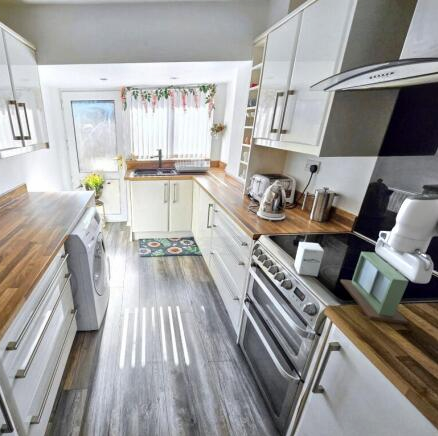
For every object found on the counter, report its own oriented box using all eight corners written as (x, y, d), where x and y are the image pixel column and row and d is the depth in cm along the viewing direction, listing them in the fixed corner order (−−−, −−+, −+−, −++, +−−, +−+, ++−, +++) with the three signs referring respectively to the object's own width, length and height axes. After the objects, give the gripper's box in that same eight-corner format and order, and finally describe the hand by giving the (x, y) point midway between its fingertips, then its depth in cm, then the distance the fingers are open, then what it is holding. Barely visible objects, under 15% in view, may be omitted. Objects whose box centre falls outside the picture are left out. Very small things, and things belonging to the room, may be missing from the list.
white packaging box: (298, 274, 103) (303, 248, 99) (293, 265, 110) (299, 241, 105) (317, 277, 101) (324, 250, 97) (312, 267, 108) (318, 242, 103)
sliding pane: (386, 293, 86) (396, 267, 82) (401, 308, 79) (413, 280, 75) (370, 291, 88) (379, 265, 84) (383, 306, 81) (394, 278, 77)
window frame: (369, 284, 95) (381, 251, 90) (407, 324, 76) (425, 285, 71) (340, 281, 98) (349, 248, 92) (369, 319, 79) (384, 280, 74)
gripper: (447, 259, 68) (429, 299, 72) (398, 230, 86) (385, 264, 91) (420, 257, 69) (403, 296, 74) (376, 229, 87) (366, 262, 92)
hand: (393, 278), depth 83 cm, fingers closed on sliding pane
